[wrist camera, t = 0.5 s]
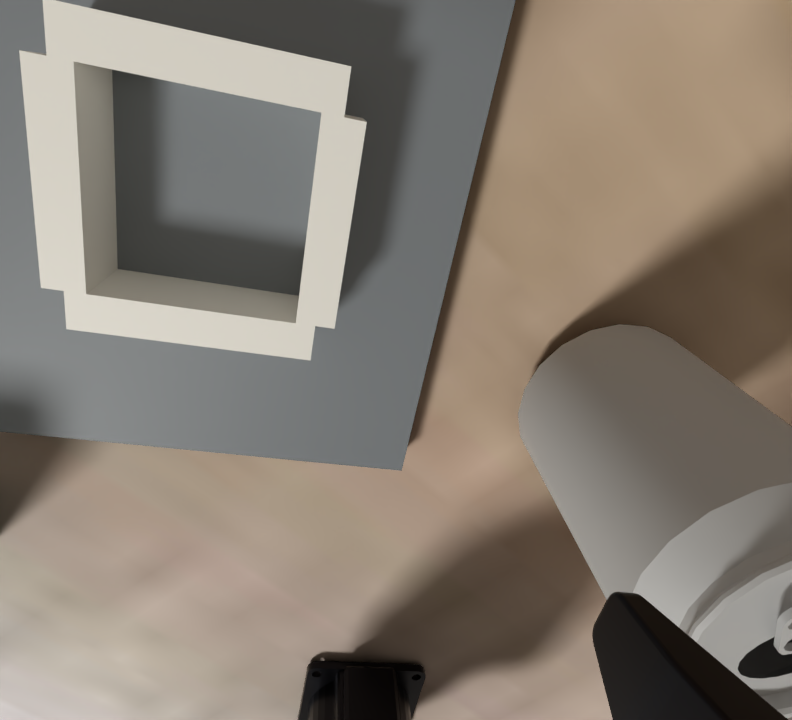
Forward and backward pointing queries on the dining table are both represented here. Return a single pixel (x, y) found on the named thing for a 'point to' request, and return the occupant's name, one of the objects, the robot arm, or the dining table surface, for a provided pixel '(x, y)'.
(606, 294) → the dining table surface
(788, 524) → the can
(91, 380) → the holder
